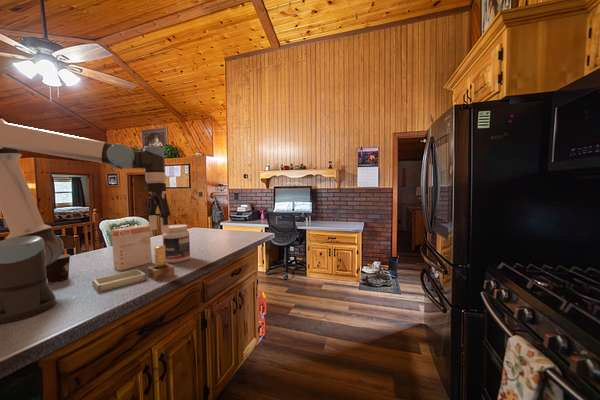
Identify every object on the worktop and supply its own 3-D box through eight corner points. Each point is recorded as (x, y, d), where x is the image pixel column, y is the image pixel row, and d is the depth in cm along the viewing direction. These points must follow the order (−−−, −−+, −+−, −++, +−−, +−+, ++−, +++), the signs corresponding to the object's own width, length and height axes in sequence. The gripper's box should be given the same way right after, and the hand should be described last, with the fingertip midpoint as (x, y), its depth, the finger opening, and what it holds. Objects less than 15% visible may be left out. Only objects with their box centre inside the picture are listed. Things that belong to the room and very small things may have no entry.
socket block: (154, 280, 105) (154, 271, 105) (148, 276, 110) (147, 267, 110) (174, 275, 111) (174, 266, 111) (167, 271, 116) (166, 262, 116)
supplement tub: (158, 262, 131) (156, 227, 130) (178, 255, 143) (176, 223, 142) (176, 264, 126) (174, 228, 125) (195, 257, 138) (194, 224, 137)
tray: (98, 292, 94) (98, 285, 94) (92, 285, 101) (92, 279, 101) (146, 279, 106) (145, 273, 106) (137, 274, 114) (137, 268, 113)
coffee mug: (54, 284, 103) (52, 260, 103) (38, 283, 105) (36, 259, 105) (83, 274, 115) (82, 253, 114) (68, 273, 117) (67, 252, 116)
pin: (158, 278, 108) (156, 248, 107) (154, 276, 111) (152, 246, 110) (167, 275, 111) (166, 246, 110) (164, 273, 114) (162, 245, 113)
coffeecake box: (146, 260, 135) (144, 224, 134) (152, 262, 131) (150, 225, 130) (113, 268, 123) (110, 229, 122) (118, 271, 119) (116, 230, 118)
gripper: (177, 181, 103) (180, 232, 104) (154, 183, 120) (157, 227, 121) (157, 181, 97) (161, 235, 99) (136, 183, 114) (139, 229, 115)
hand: (159, 231), depth 110 cm, fingers open, 13 cm apart
